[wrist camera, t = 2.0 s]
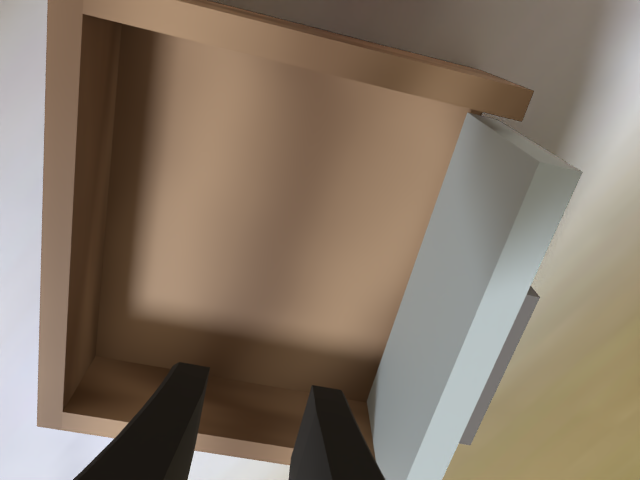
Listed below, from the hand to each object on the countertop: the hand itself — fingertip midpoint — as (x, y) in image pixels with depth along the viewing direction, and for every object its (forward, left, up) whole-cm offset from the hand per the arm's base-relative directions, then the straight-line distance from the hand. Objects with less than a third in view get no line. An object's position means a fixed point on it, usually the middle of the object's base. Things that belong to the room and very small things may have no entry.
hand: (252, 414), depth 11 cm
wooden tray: (0, 0, -10) cm, 10 cm away
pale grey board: (+6, 0, -8) cm, 10 cm away
